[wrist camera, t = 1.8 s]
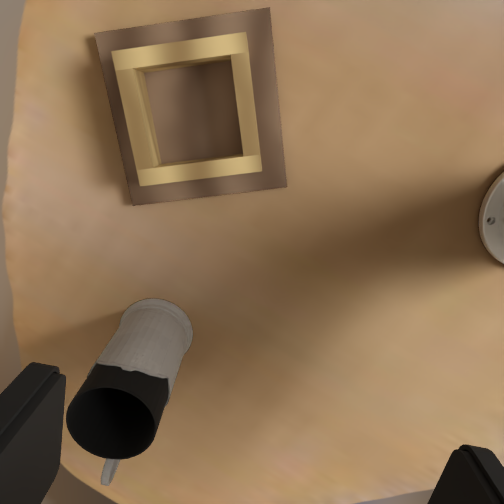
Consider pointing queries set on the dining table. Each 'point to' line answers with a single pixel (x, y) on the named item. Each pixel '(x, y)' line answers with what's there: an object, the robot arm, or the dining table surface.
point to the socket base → (195, 106)
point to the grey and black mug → (130, 384)
